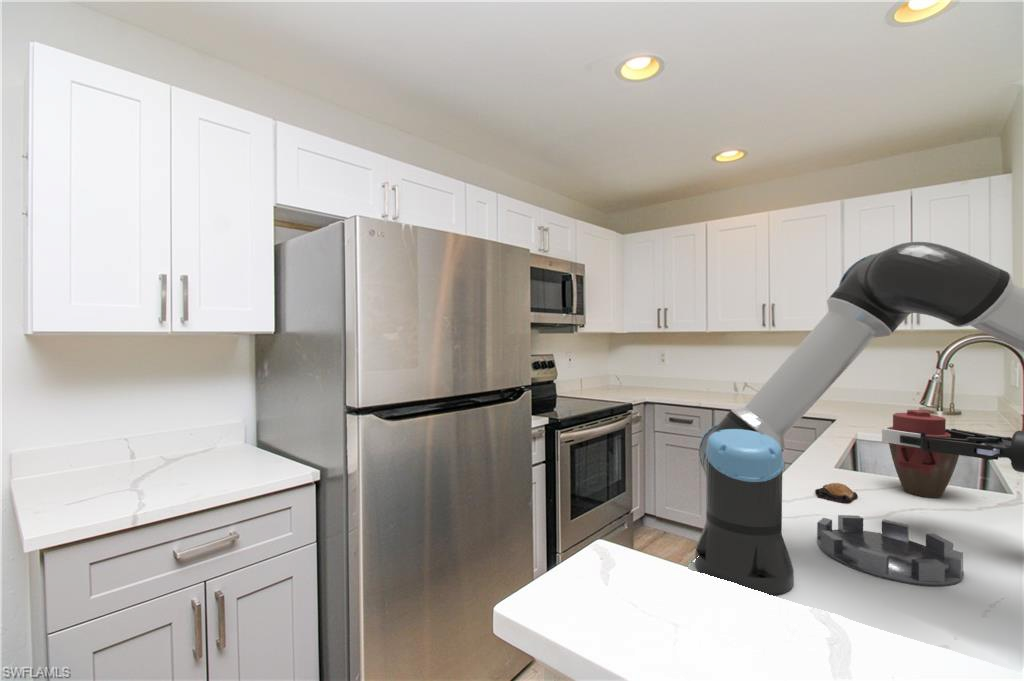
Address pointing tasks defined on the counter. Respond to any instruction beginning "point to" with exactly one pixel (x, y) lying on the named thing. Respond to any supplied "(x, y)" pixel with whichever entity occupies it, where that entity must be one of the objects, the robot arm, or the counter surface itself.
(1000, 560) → the counter surface
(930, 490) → the plant pot
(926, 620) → the counter surface
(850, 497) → the bread roll
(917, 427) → the mechanical component
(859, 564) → the castellated collar
